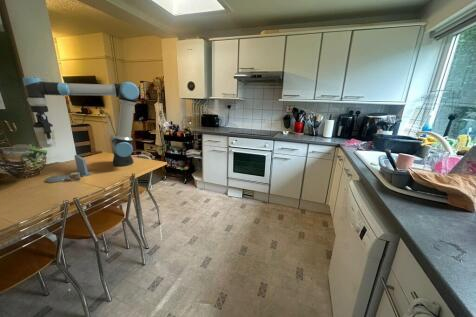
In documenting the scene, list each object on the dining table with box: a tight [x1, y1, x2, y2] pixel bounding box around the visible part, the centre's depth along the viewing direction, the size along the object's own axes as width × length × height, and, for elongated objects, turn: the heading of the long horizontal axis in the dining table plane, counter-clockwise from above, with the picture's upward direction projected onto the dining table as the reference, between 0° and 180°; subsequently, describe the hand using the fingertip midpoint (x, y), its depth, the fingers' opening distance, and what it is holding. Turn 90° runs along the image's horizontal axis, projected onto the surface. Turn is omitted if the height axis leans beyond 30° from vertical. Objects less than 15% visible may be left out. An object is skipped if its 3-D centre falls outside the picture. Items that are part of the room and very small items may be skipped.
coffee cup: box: [32, 121, 56, 149], centre depth 123 cm, size 9×9×15 cm
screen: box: [73, 154, 92, 178], centre depth 141 cm, size 16×5×12 cm, turn 54°
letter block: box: [69, 171, 82, 182], centre depth 132 cm, size 4×4×5 cm
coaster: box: [45, 174, 70, 184], centre depth 132 cm, size 12×12×1 cm
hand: (48, 142), depth 125 cm, fingers closed on coffee cup, 9 cm apart
